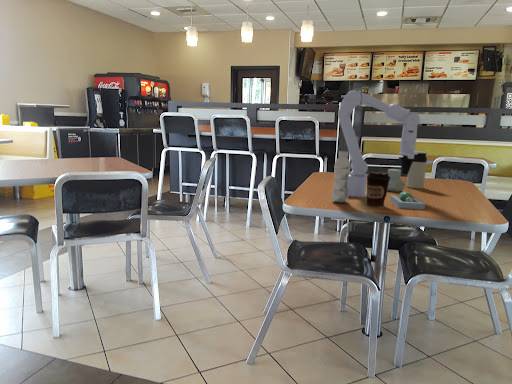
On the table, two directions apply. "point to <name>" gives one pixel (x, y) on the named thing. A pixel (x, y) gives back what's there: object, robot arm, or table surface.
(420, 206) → the cradle
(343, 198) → the plastic bottle
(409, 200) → the bottle
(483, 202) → the table surface
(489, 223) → the table surface
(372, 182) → the coffee cup
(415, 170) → the travel mug
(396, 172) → the air freshener
